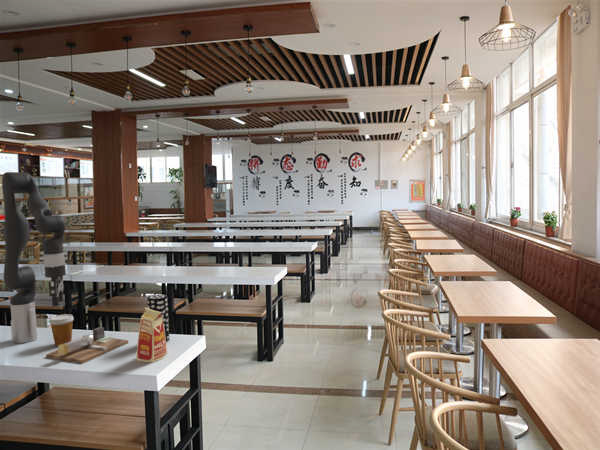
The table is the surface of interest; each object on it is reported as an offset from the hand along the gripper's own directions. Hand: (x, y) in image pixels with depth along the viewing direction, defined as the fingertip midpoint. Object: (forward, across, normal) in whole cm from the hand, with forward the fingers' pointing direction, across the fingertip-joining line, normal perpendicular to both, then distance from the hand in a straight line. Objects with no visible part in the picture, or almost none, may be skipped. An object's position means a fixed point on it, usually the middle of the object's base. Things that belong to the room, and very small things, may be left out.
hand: (58, 303), depth 183 cm
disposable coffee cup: (+21, -12, -2) cm, 24 cm away
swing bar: (+18, +4, +6) cm, 20 cm away
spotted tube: (+22, 0, +38) cm, 44 cm away
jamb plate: (+21, 0, +10) cm, 23 cm away
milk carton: (+22, +19, +36) cm, 46 cm away
